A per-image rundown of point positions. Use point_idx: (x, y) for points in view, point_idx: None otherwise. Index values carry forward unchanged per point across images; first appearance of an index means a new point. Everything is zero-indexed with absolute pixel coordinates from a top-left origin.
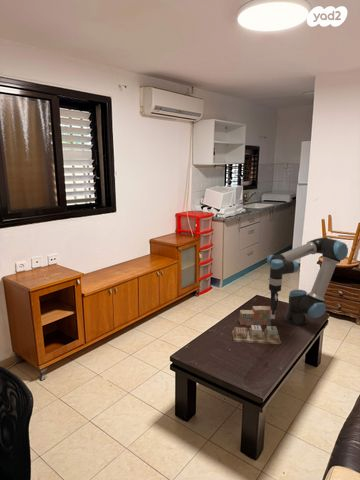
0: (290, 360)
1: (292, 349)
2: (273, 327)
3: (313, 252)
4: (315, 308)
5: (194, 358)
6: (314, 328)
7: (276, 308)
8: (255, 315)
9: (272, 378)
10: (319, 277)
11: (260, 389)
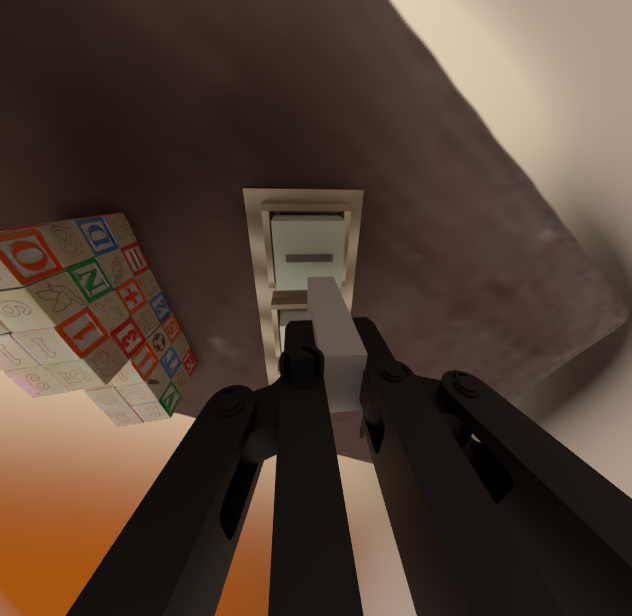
0: (513, 168)
1: (418, 118)
2: (293, 244)
3: None
4: None
5: None
6: None
7: (529, 421)
8: (131, 345)
9: (582, 277)
10: None
11: (604, 318)
